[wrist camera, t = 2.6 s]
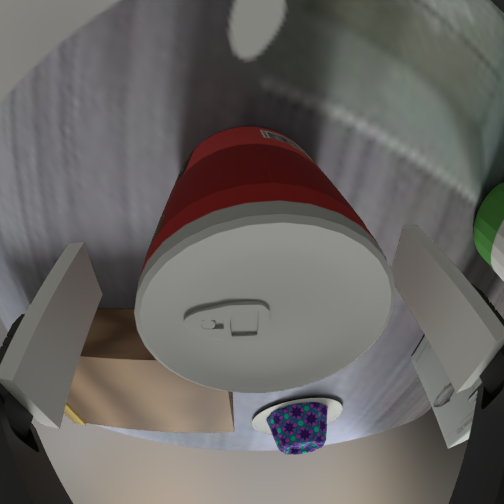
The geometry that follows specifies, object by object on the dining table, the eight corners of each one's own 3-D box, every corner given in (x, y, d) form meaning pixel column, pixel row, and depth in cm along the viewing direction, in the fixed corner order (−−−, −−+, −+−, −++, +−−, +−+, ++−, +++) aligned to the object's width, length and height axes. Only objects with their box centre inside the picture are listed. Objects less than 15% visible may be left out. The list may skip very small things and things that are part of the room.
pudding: (248, 399, 32) (252, 439, 28) (349, 385, 33) (360, 422, 28) (253, 434, 39) (256, 465, 35) (333, 423, 39) (340, 453, 35)
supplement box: (432, 314, 26) (488, 416, 16) (478, 305, 27) (532, 390, 16) (407, 358, 30) (446, 450, 20) (452, 347, 31) (492, 427, 20)
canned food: (162, 145, 16) (82, 259, 7) (302, 109, 15) (406, 180, 6) (202, 253, 20) (190, 406, 11) (320, 225, 20) (386, 365, 10)
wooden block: (223, 306, 23) (223, 363, 19) (232, 391, 30) (234, 434, 26) (31, 306, 22) (8, 349, 18) (82, 385, 29) (72, 422, 25)
